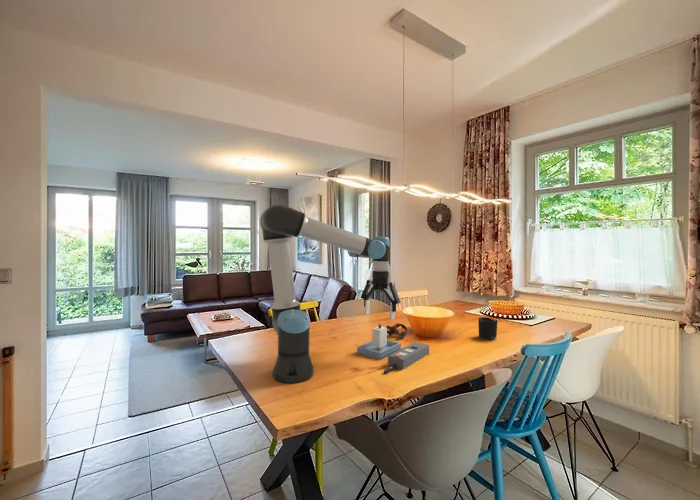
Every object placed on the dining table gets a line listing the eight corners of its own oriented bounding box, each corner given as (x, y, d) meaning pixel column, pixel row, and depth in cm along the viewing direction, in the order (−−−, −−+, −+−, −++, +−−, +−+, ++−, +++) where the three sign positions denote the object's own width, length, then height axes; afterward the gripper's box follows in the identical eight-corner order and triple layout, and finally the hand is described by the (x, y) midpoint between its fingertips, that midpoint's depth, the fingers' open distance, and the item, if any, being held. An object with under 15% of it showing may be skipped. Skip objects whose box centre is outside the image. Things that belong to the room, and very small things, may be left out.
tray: (380, 359, 135) (380, 352, 135) (357, 353, 143) (357, 346, 143) (400, 349, 149) (401, 343, 149) (378, 344, 157) (378, 338, 157)
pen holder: (478, 339, 167) (479, 320, 167) (477, 334, 176) (477, 316, 176) (498, 341, 164) (498, 322, 164) (495, 336, 173) (496, 318, 173)
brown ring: (402, 334, 176) (407, 323, 172) (404, 347, 167) (410, 335, 164) (381, 329, 175) (386, 318, 171) (382, 341, 166) (387, 330, 163)
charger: (379, 352, 143) (379, 326, 142) (372, 350, 145) (372, 325, 145) (386, 348, 147) (387, 324, 147) (379, 347, 150) (379, 322, 150)
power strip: (392, 376, 119) (392, 364, 119) (376, 371, 123) (377, 359, 123) (429, 353, 144) (429, 343, 144) (415, 350, 148) (415, 340, 148)
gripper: (408, 271, 141) (407, 319, 141) (363, 268, 156) (362, 311, 157) (400, 272, 135) (398, 322, 135) (354, 268, 150) (352, 313, 151)
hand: (379, 316), depth 146 cm, fingers open, 13 cm apart
